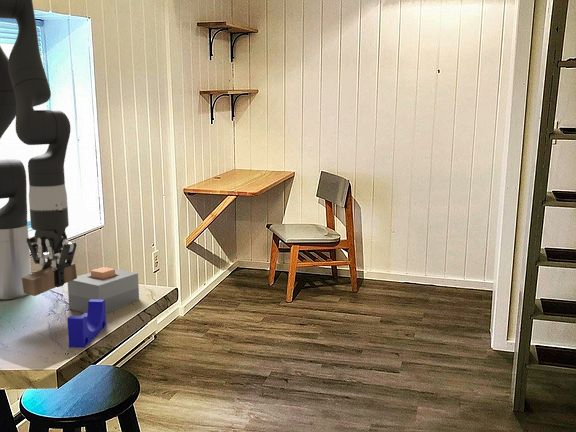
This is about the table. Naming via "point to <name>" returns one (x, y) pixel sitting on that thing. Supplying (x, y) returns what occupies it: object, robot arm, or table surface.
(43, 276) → the brown wooden plank
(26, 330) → the table surface
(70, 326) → the blue bent block
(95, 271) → the button
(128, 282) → the box
